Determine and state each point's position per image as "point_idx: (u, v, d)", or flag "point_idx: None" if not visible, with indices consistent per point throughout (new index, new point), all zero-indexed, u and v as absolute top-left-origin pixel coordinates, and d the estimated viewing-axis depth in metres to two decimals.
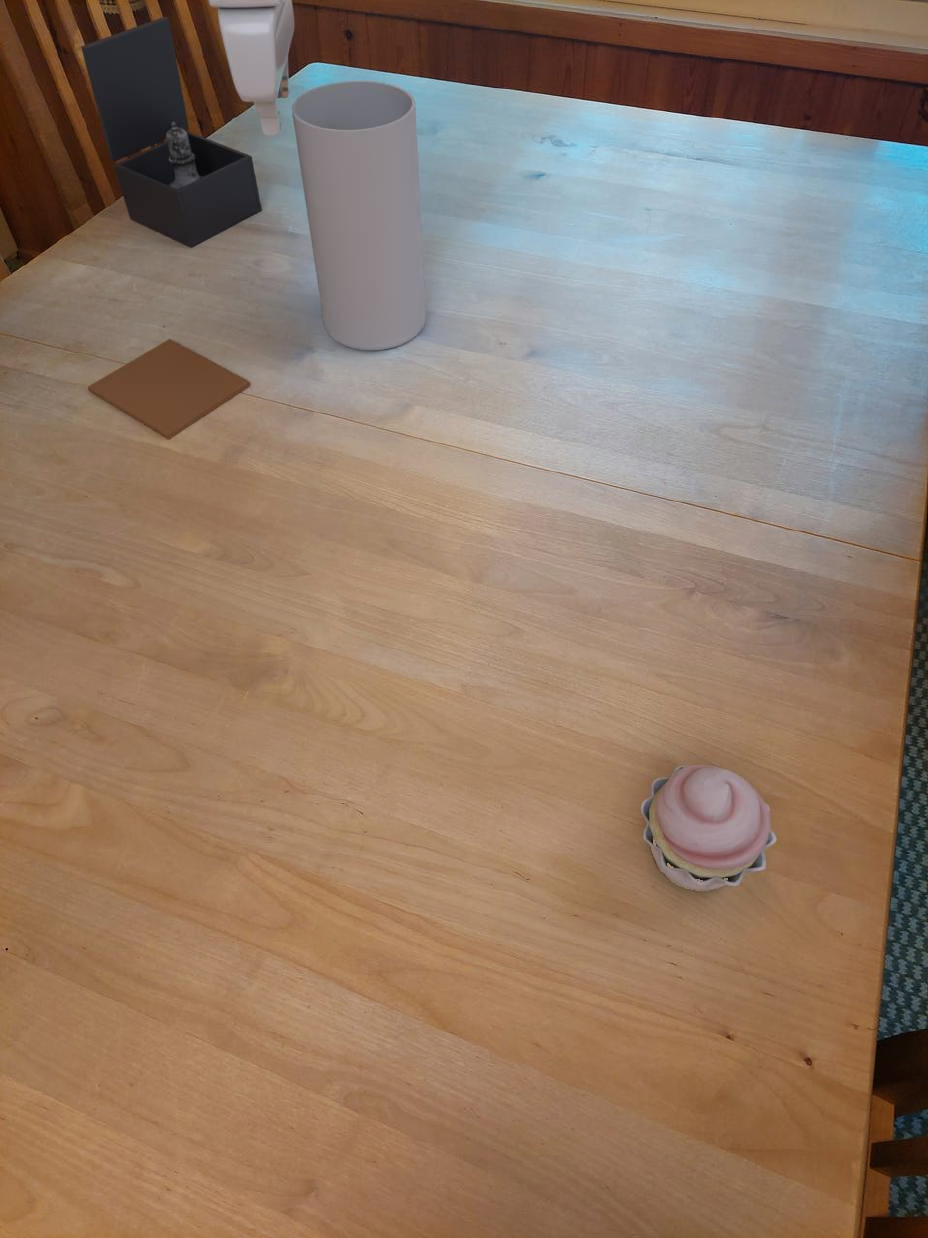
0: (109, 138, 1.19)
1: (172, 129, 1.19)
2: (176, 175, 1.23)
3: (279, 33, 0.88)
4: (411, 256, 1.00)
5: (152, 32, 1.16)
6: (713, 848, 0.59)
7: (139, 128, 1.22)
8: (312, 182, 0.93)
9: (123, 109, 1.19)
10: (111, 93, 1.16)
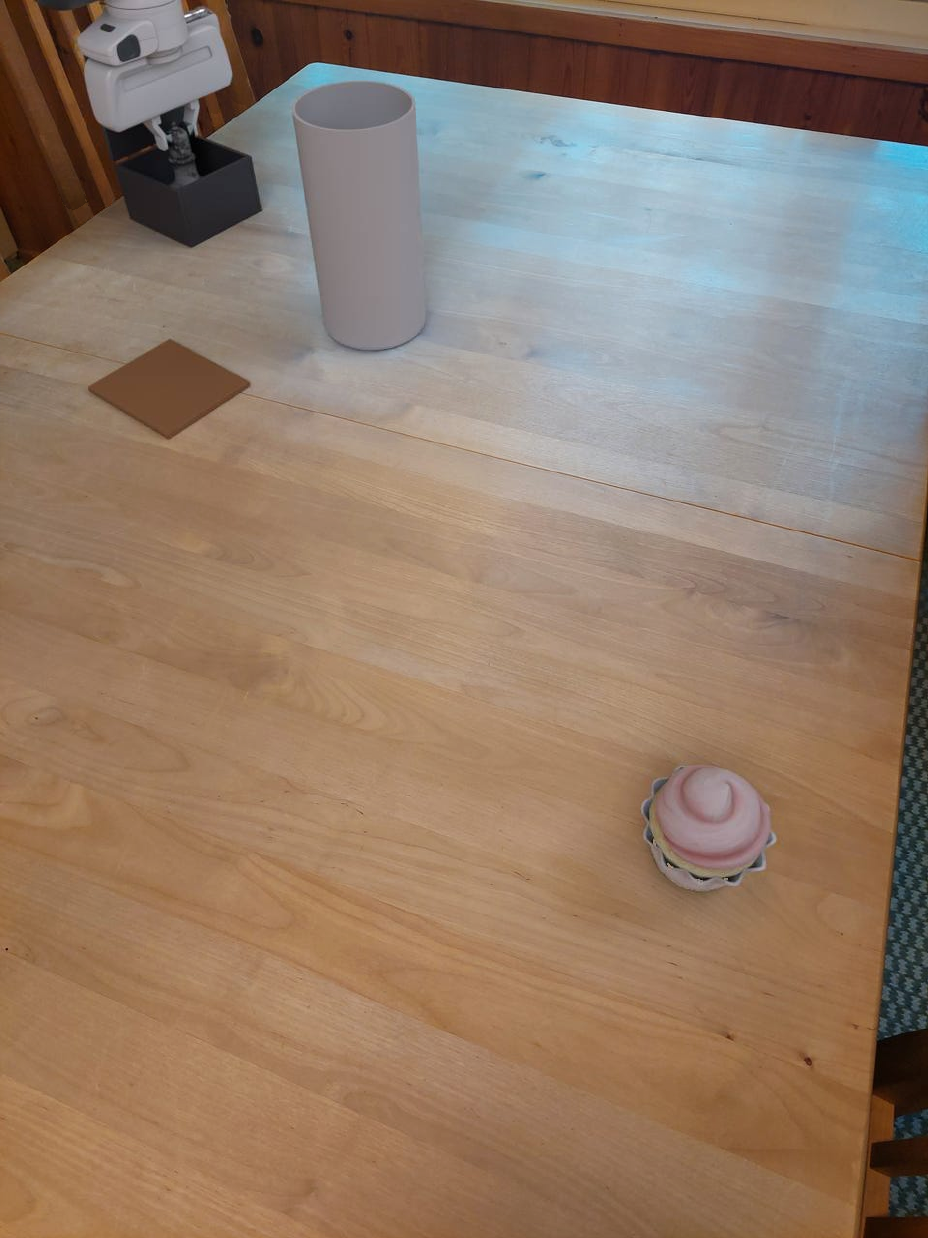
0: (109, 138, 1.19)
1: (172, 129, 1.19)
2: (176, 175, 1.23)
3: (158, 84, 1.13)
4: (411, 256, 1.00)
5: None
6: (713, 848, 0.59)
7: (139, 128, 1.22)
8: (312, 182, 0.93)
9: None
10: None
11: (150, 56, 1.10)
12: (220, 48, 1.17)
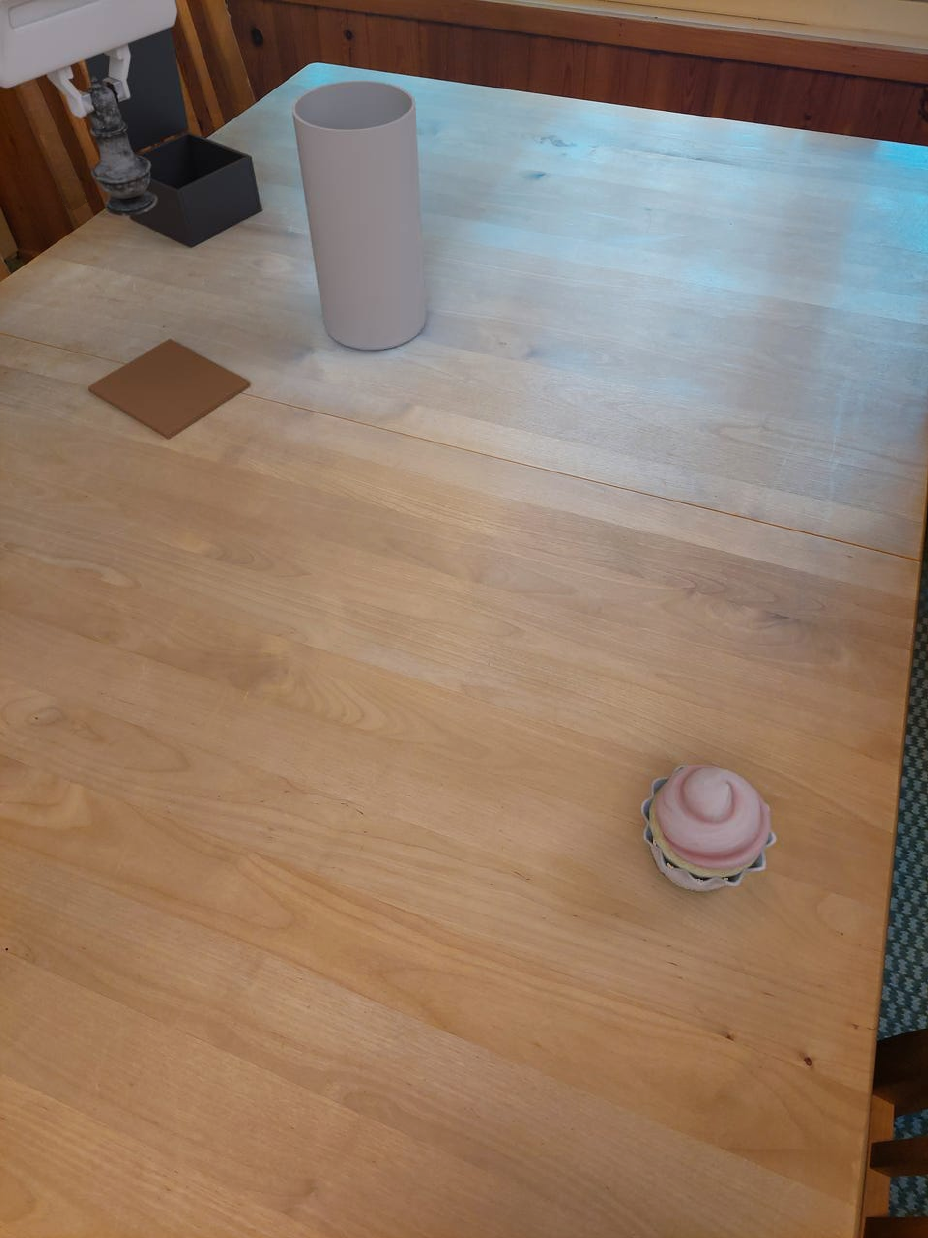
0: None
1: (92, 87, 0.84)
2: (101, 154, 0.88)
3: (65, 20, 0.78)
4: (411, 256, 1.00)
5: None
6: (713, 848, 0.59)
7: (139, 128, 1.22)
8: (312, 182, 0.93)
9: (123, 109, 1.19)
10: None
11: None
12: None
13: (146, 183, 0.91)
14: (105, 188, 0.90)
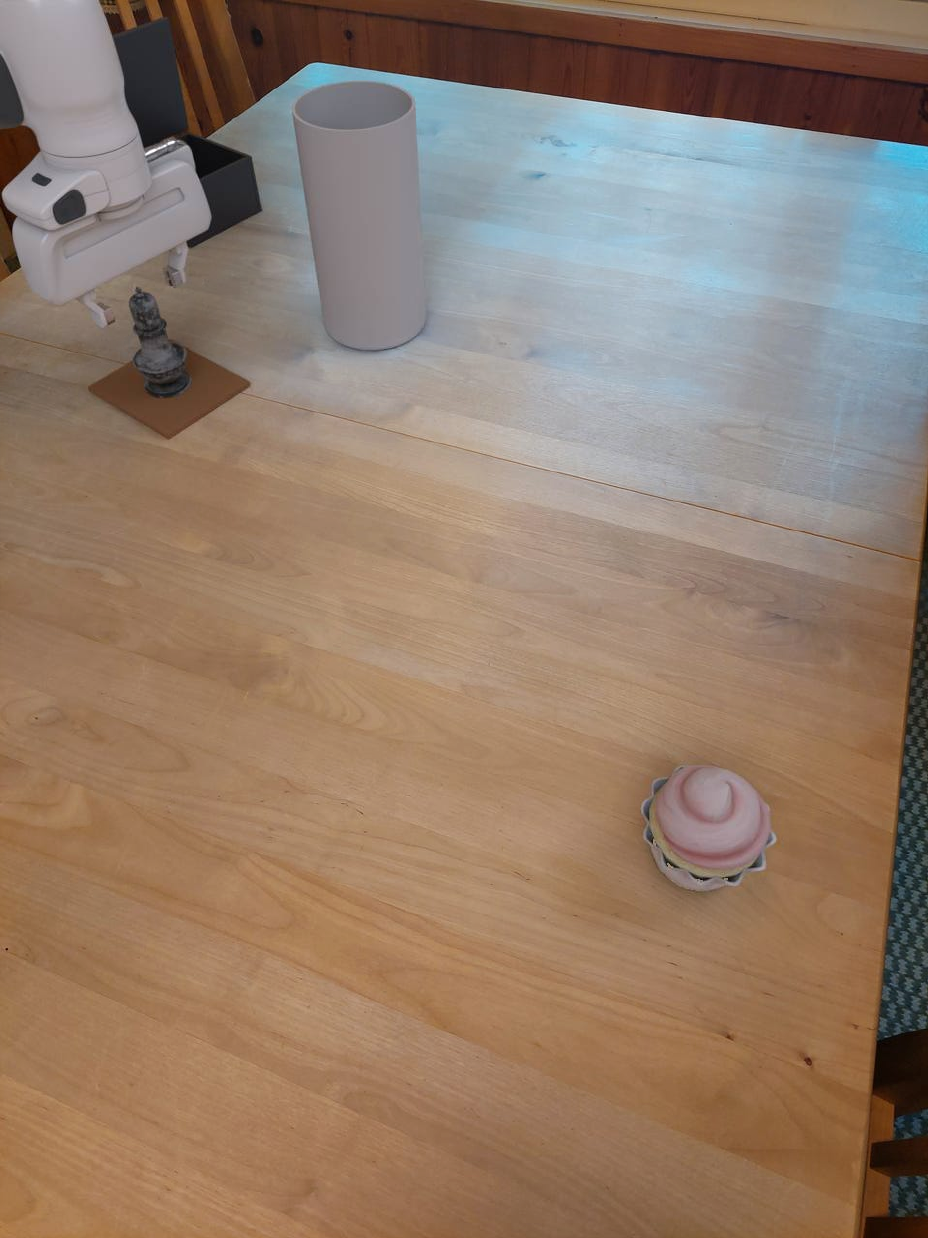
0: None
1: (136, 296, 0.93)
2: (142, 348, 0.97)
3: (113, 243, 0.86)
4: (411, 256, 1.00)
5: (152, 32, 1.16)
6: (713, 848, 0.59)
7: (139, 128, 1.22)
8: (312, 182, 0.93)
9: None
10: None
11: (100, 210, 0.84)
12: (195, 188, 0.91)
13: (182, 370, 1.00)
14: (145, 376, 0.99)
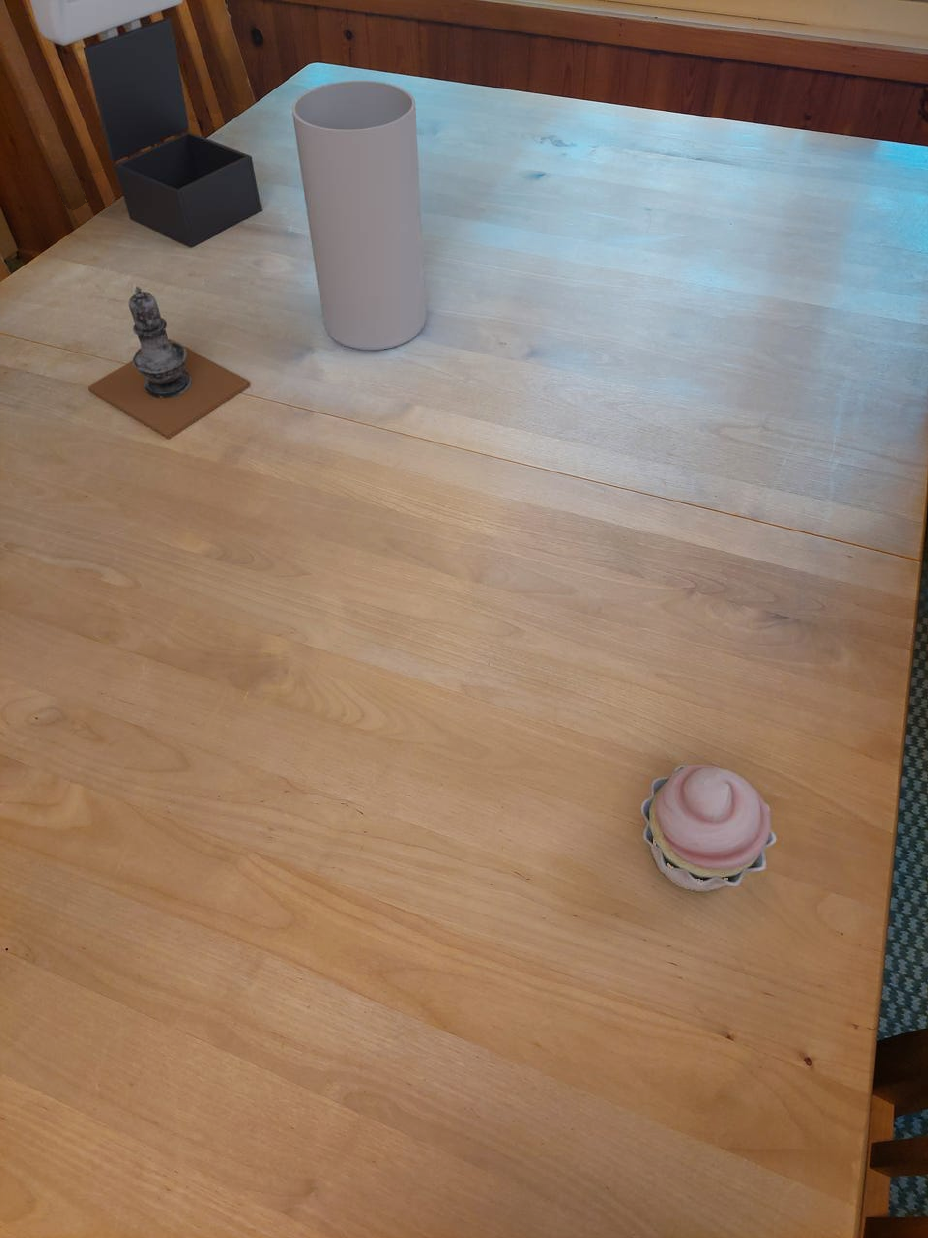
0: (110, 138, 1.19)
1: (136, 296, 0.93)
2: (142, 348, 0.97)
3: None
4: (411, 256, 1.00)
5: (154, 33, 1.16)
6: (713, 848, 0.59)
7: (140, 128, 1.22)
8: (312, 182, 0.93)
9: (124, 109, 1.19)
10: (112, 94, 1.16)
11: None
12: None
13: (182, 370, 1.00)
14: (145, 376, 0.99)
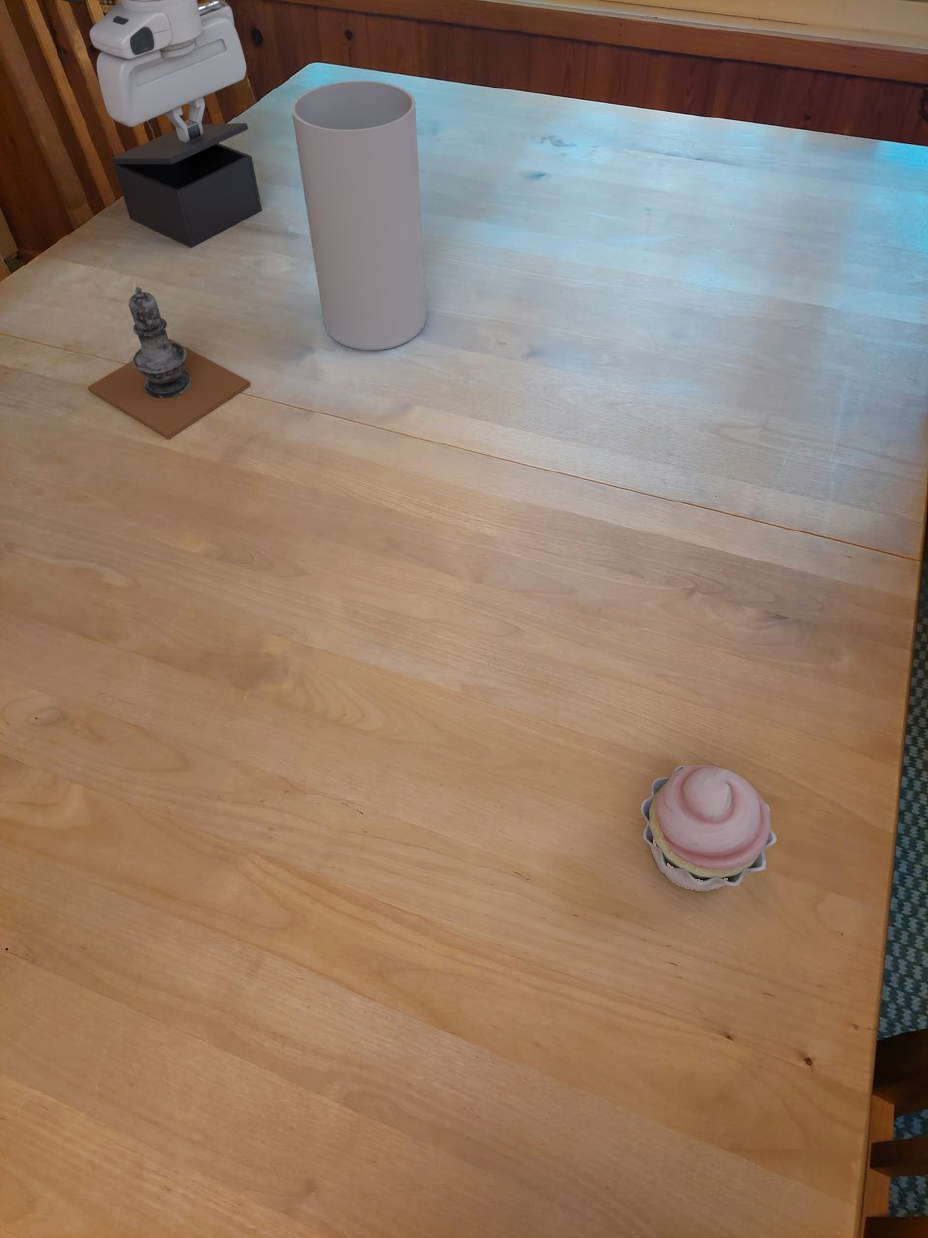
0: (126, 163, 1.20)
1: (136, 296, 0.93)
2: (142, 348, 0.97)
3: (172, 78, 1.11)
4: (411, 256, 1.00)
5: None
6: (713, 848, 0.59)
7: None
8: (312, 182, 0.93)
9: None
10: None
11: (164, 49, 1.08)
12: (234, 41, 1.15)
13: (182, 370, 1.00)
14: (145, 376, 0.99)
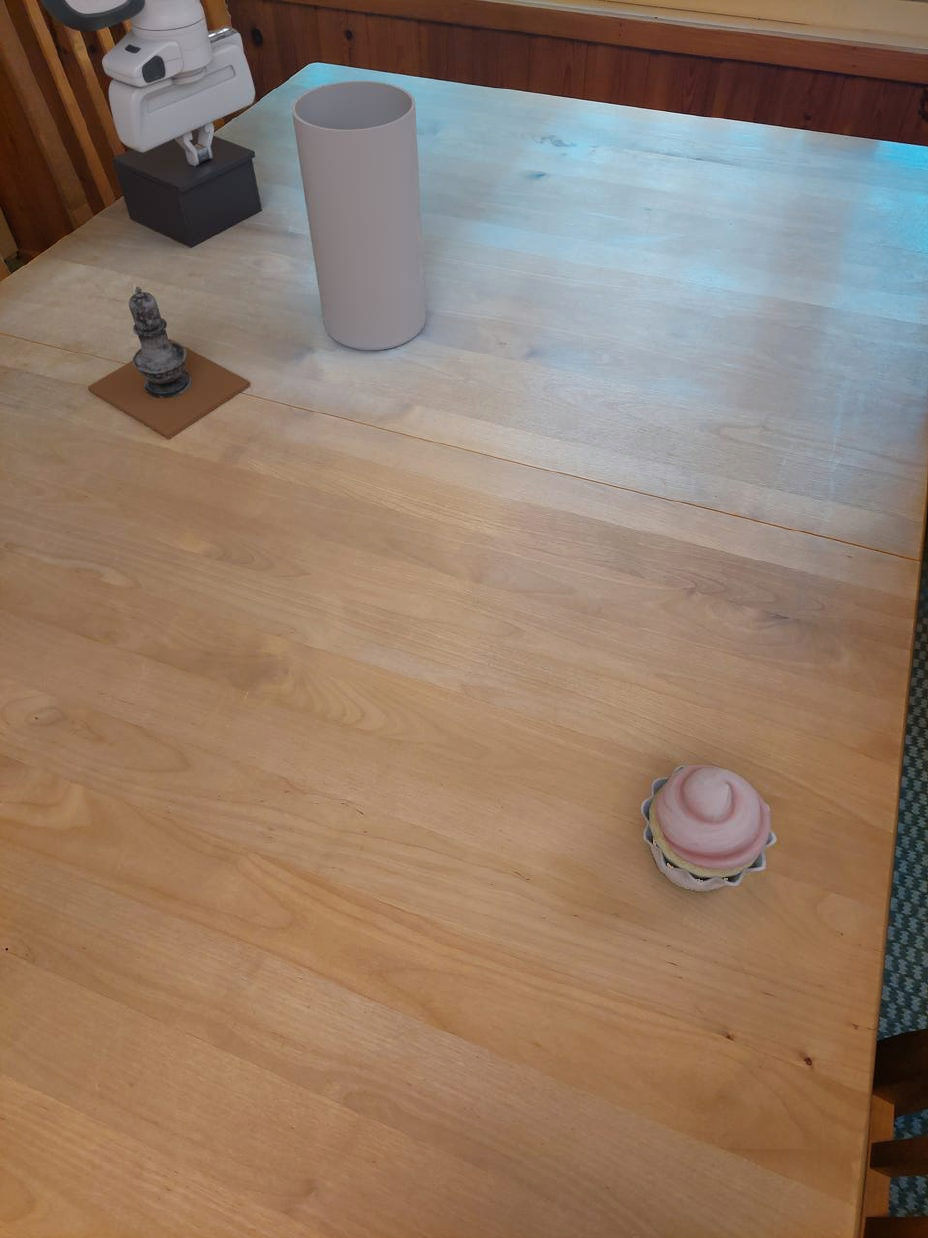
0: (128, 169, 1.21)
1: (136, 296, 0.93)
2: (142, 348, 0.97)
3: (182, 104, 1.12)
4: (411, 256, 1.00)
5: None
6: (713, 848, 0.59)
7: None
8: (312, 182, 0.93)
9: None
10: None
11: (174, 76, 1.10)
12: (243, 67, 1.17)
13: (182, 370, 1.00)
14: (145, 376, 0.99)
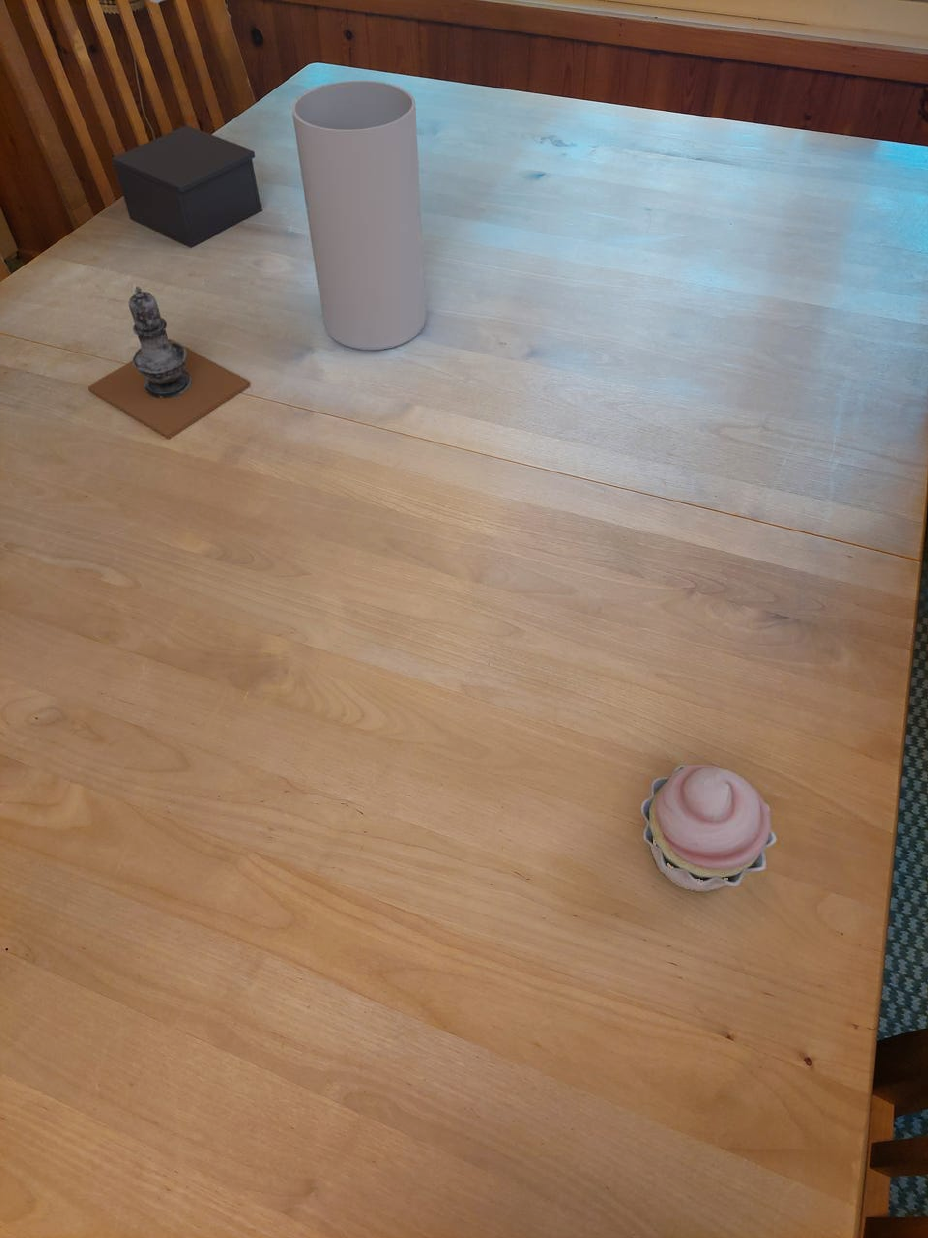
0: (128, 169, 1.21)
1: (136, 296, 0.93)
2: (142, 348, 0.97)
3: None
4: (411, 256, 1.00)
5: None
6: (713, 848, 0.59)
7: None
8: (312, 182, 0.93)
9: None
10: None
11: None
12: None
13: (182, 370, 1.00)
14: (145, 376, 0.99)
